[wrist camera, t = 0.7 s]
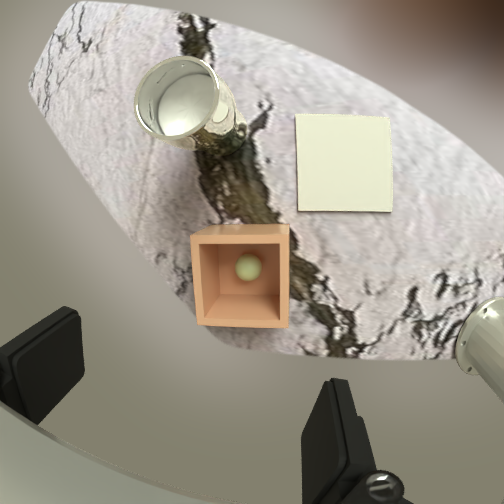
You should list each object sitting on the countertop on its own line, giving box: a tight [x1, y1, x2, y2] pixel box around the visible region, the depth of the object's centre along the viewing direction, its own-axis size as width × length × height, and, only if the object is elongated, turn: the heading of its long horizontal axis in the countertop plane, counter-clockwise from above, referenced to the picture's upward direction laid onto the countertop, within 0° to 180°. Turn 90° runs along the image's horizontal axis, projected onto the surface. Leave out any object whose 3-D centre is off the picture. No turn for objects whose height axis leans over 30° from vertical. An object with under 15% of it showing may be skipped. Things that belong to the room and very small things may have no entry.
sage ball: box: [235, 254, 262, 281], centre depth 34 cm, size 3×3×3 cm
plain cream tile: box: [295, 114, 393, 212], centre depth 32 cm, size 11×11×1 cm
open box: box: [190, 224, 290, 328], centre depth 32 cm, size 9×9×8 cm
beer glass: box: [134, 56, 247, 156], centre depth 26 cm, size 7×7×15 cm
